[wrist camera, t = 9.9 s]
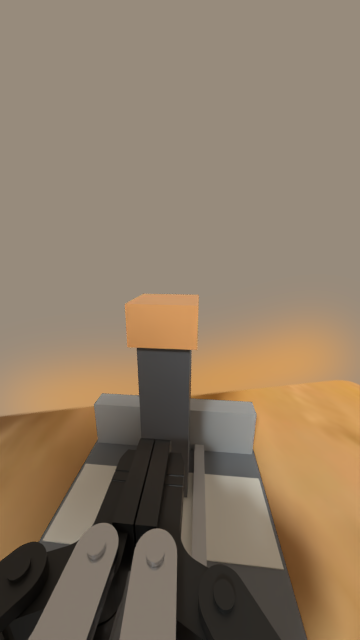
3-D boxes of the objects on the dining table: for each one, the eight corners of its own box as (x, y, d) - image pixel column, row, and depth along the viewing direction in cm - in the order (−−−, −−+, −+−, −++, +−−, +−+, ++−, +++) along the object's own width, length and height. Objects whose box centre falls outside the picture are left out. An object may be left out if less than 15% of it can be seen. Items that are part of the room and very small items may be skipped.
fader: (192, 504, 14) (198, 305, 11) (136, 499, 15) (124, 303, 11) (194, 455, 18) (198, 294, 15) (149, 451, 18) (143, 293, 15)
